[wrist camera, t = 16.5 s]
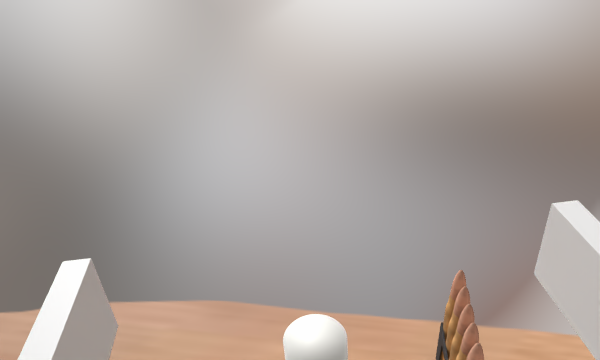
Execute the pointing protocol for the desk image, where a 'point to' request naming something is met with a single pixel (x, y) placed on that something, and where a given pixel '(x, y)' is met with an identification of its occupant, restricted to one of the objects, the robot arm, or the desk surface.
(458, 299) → the ammunition clip
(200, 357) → the desk surface
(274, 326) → the desk surface
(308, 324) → the cylinder
